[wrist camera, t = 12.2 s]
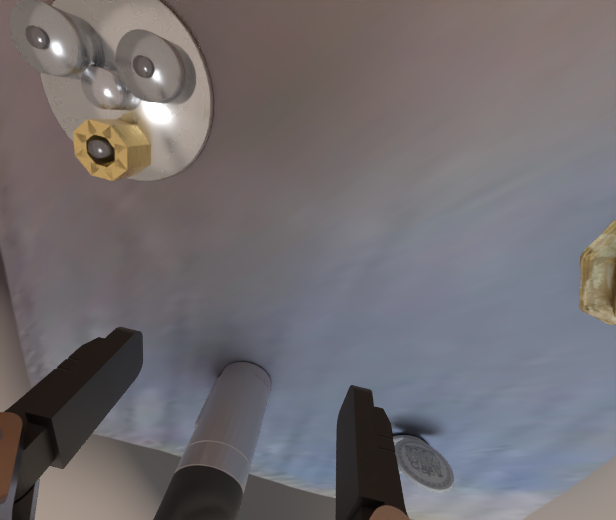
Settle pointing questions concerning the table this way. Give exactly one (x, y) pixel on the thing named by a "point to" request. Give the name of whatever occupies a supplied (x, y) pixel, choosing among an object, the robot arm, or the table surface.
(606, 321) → the statue
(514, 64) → the table surface
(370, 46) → the table surface
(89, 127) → the planet gear
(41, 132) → the table surface
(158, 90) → the carrier
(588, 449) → the table surface
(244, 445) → the robot arm
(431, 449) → the pocket watch
